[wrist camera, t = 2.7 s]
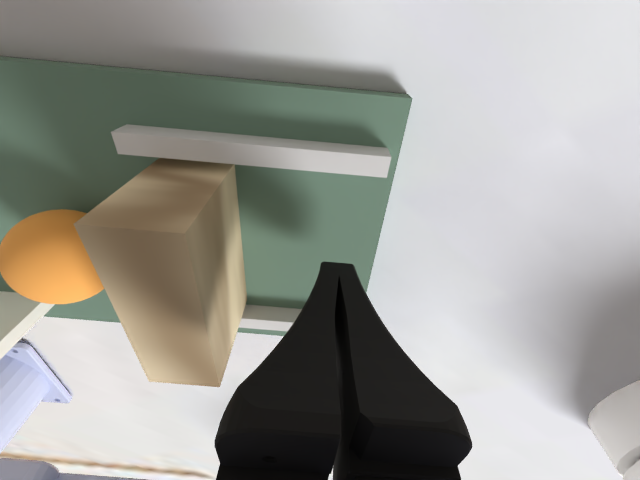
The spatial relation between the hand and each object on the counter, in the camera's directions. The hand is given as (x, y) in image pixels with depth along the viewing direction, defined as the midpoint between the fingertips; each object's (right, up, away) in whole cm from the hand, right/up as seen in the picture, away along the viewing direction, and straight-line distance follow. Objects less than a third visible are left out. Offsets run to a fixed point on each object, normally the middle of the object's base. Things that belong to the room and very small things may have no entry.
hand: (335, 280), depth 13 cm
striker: (-6, +2, +2) cm, 6 cm away
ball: (-11, +1, 0) cm, 12 cm away
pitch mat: (-10, +3, +2) cm, 11 cm away
